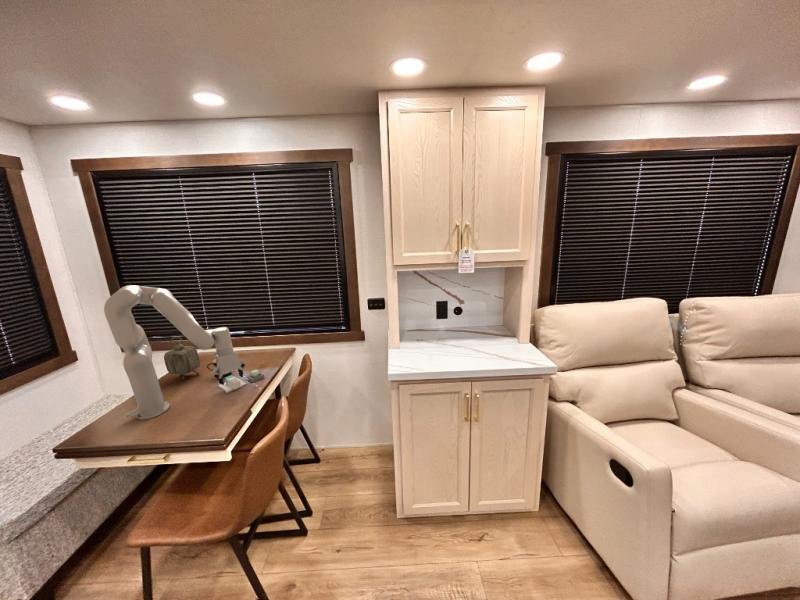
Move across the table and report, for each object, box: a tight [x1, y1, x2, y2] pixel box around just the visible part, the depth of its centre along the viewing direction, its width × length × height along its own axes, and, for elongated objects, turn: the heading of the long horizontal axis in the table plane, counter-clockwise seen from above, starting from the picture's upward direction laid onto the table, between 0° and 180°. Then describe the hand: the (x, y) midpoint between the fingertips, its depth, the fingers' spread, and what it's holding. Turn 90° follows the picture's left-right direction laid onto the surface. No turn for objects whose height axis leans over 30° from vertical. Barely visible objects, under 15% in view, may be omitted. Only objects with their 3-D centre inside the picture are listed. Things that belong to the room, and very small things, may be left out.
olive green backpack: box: [163, 336, 201, 380], centre depth 174 cm, size 14×9×25 cm, turn 84°
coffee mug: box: [206, 358, 233, 379], centre depth 175 cm, size 12×9×10 cm
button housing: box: [246, 371, 265, 383], centre depth 169 cm, size 6×6×2 cm
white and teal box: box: [224, 374, 242, 391], centre depth 162 cm, size 4×11×4 cm, turn 50°
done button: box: [250, 369, 260, 378], centre depth 168 cm, size 4×4×3 cm
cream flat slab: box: [216, 377, 249, 395], centre depth 163 cm, size 11×13×1 cm
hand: (232, 380), depth 162 cm, fingers open, 9 cm apart
